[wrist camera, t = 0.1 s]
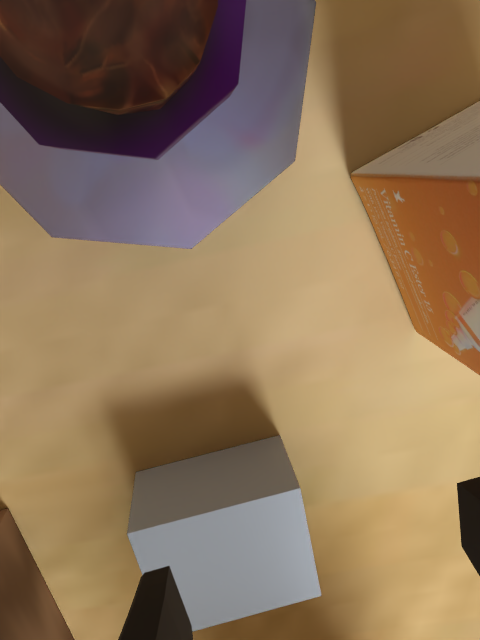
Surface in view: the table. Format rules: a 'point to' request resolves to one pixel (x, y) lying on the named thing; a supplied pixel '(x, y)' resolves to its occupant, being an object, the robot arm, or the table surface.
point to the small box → (433, 229)
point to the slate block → (226, 531)
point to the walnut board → (24, 591)
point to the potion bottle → (148, 111)
